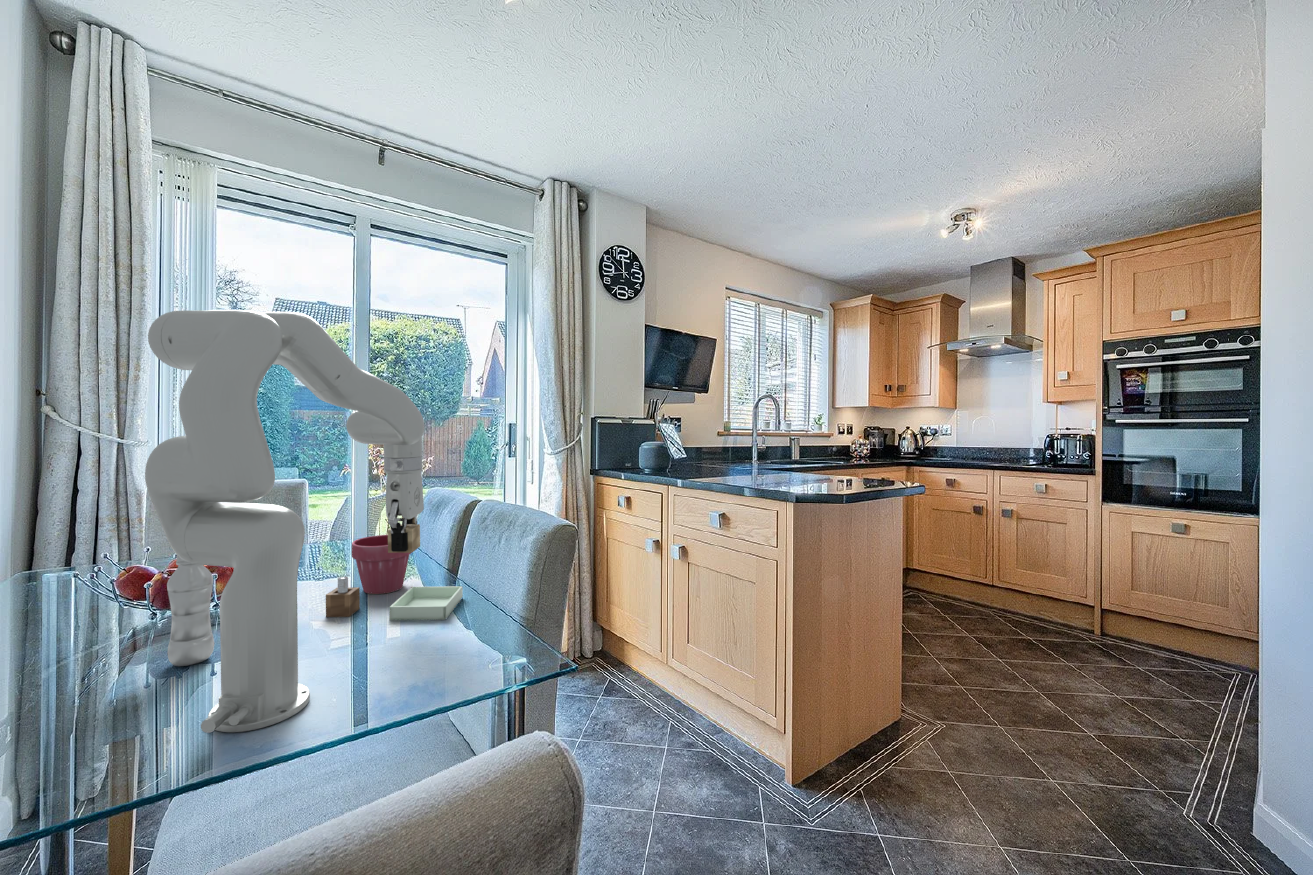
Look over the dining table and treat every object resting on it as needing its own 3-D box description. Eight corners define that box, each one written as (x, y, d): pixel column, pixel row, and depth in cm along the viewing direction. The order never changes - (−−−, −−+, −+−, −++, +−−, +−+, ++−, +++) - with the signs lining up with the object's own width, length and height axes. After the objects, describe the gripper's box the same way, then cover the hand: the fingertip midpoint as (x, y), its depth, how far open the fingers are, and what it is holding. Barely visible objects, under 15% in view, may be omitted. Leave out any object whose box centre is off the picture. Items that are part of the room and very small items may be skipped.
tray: (445, 619, 121) (445, 606, 121) (389, 620, 120) (389, 606, 120) (462, 598, 135) (462, 586, 135) (412, 598, 134) (412, 586, 134)
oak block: (412, 552, 118) (412, 529, 117) (388, 552, 117) (387, 529, 117) (420, 546, 123) (419, 524, 122) (396, 546, 122) (396, 524, 122)
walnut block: (349, 616, 122) (349, 594, 121) (325, 616, 121) (325, 594, 121) (359, 608, 127) (359, 587, 126) (337, 608, 126) (336, 587, 126)
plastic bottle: (158, 672, 95) (156, 558, 94) (181, 655, 101) (179, 548, 100) (202, 668, 96) (201, 556, 96) (222, 652, 103) (220, 547, 102)
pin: (345, 614, 123) (344, 579, 123) (336, 614, 123) (335, 579, 123) (349, 611, 125) (349, 576, 125) (340, 611, 125) (340, 576, 125)
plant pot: (363, 581, 147) (363, 533, 146) (418, 579, 149) (418, 532, 149) (342, 599, 133) (342, 547, 132) (404, 596, 135) (404, 545, 135)
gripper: (407, 470, 110) (408, 558, 112) (433, 460, 127) (434, 537, 129) (368, 469, 110) (370, 559, 111) (400, 460, 127) (401, 537, 128)
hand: (404, 546), depth 120 cm, fingers closed on oak block, 5 cm apart
